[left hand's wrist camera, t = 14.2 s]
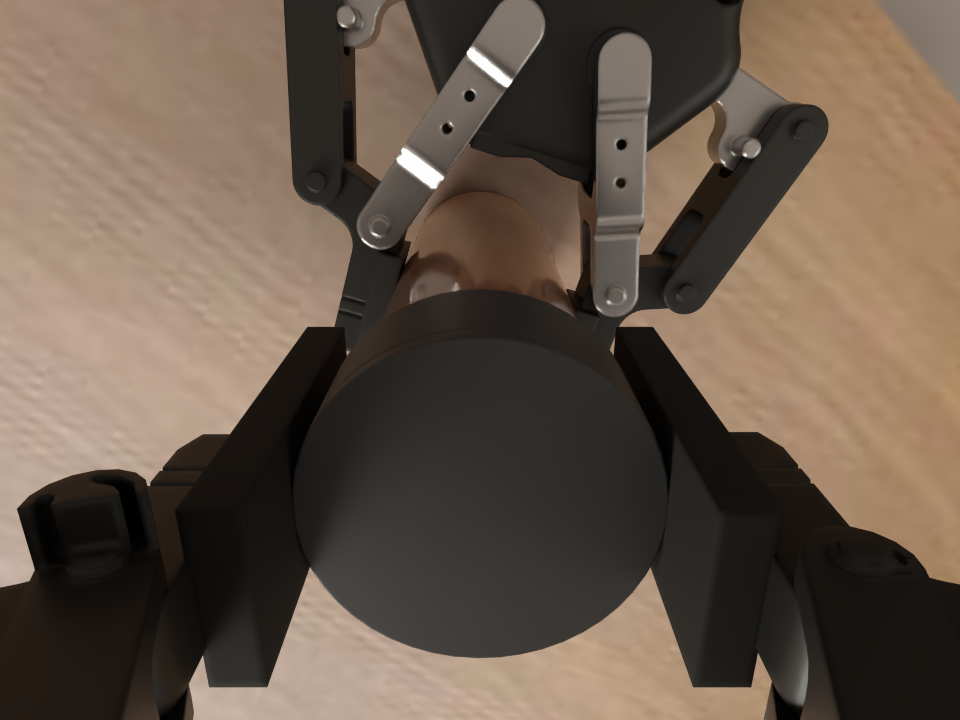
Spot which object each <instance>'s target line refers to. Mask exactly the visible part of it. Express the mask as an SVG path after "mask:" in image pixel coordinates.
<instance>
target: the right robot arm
mask: <svg viewBox="0 0 960 720" xmlns="http://www.w3.org/2000/svg"><path fill="white" fill-rule="evenodd" d="M401 1H405V2H406V5H407V8H408V11H409V14H410V16H411V19H412V22H413V25H414V28H415V31H416V34H417V37H418V39H419V42H420V45H421V48H422V51H423V54H424V57H425V60H426V62H427V65H428V68H429V71H430V74H431V77H432V80H433V83H434V85H435V88H436V91H437V94H438V96H437V98H436V99H435V101H434V102H433V104H432V105H431V107H430V108H429V110H428V111H427V113H426V114H425V116H424V117H423V119H422V120H421V122H420V123H419V125H418V126H417V128H416V129H415V131H414V132H413V134H412V135H411V136H410V138H409V139H408V141H407V142H406V144H405V145H404V147H403V149H402V150H401V152H400V153H399V155H398V157H397V159H396V160H395V162H394V163H393V165H392V166H391V168H390V169H389V171H388V172H387V174H386V175H385V177H384V178H383V180H382V181H379V180H378V179H377V178H375V177H374V176H372V175H371V174H370V173H368V172H367V171H366V170H364V169H363V168H362V167H360V166H359V165H358V164H357V152H356V89H355V49H362V48H366V47H368V46H370V45H372V44H373V43H374V42H375V41H376V39H377V38H378V36H379V33H380V30H381V22H382V18H383V16H384V14H385V12H386V11H387V9H388V8H389V7H390V6H392V5H393V4H395V3H397V2H401ZM743 1H744V0H284V14H285V34H286V54H287V74H288V94H289V114H290V134H291V154H292V175H293V185H294V188H295V190H296V192H297V194H298V195H299V196H300V197H301V198H302V199H303V200H304V201H306V202H307V203H309V204H313V205H320V206H321V207H323V208H324V209H326V210H327V211H328V212H330V213H331V214H333V215H334V216H336V217H337V218H338V219H340V220H341V221H342V222H343V223H344V224H345V225H346V226H347V228H348V229H349V231H350V233H351V236H352V241H353V249H352V255H351V259H350V263H349V267H348V272H347V276H346V280H345V285H344V289H343V293H342V298H341V302H340V306H339V311H338V315H337V319H336V323H335V327H344V328H345V341H346V350H347V351H351V350H352V348H353V347H354V346H355V345H356V344H357V343H358V342H359V340H360V339H361V338H362V337H363V336H364V335H365V334H366V333H367V332H368V331H369V330H371V329H372V328H373V327H374V326H375V325H377V324H378V323H379V322H380V321H381V320H382V319H383V316H384V314H385V311H386V309H387V307H388V304H389V302H390V300H391V297H392V295H393V293H394V290H395V288H396V286H397V283H398V281H399V279H400V276H401V274H402V271H403V269H404V267H405V263H406V259H407V256H408V252H409V248H410V244H411V242H408V241H405V236H406V232H407V229H408V227H409V226H410V225H411V223H412V222H413V220H414V219H415V217H416V216H417V215H418V213H419V212H420V210H421V209H422V207H423V206H424V205H425V203H426V202H427V200H428V199H429V198H430V196H431V195H432V193H433V192H434V191H435V189H436V188H437V186H438V185H439V184H440V183H441V181H442V180H443V179H444V177H445V176H446V174H447V173H448V172H449V170H450V169H451V167H452V166H453V165H454V163H455V162H456V160H457V159H458V158H459V156H460V155H461V153H462V152H463V150H464V149H465V148H466V146H467V145H468V143H469V144H471V146H470V148H473V149H476V150H480V151H483V152H486V153H489V154H492V155H496V156H499V157H526V158H533V159H535V160H536V161H538V162H539V163H541V164H543V165H544V166H546V167H547V168H549V169H550V170H552V171H553V172H555V173H556V174H558V175H560V176H563V177H566V178H569V179H573V180H576V181H578V206H579V214H580V227H581V277H580V280H579V282H578V285H577V288H576V291H573V290H570V289H567V290H566V291H567V293H568V296H569V298H570V301H571V303H572V305H573V308H574V310H575V312H576V315H577V317H578V319H579V321H580V322H582V323H583V324H585V325H586V326H587V327H588V328H589V329H590V330H591V331H592V332H593V333H594V334H596V335H597V336H598V337H599V338H600V339H601V341H602V342H603V343H604V344H605V345H606V347H607V348H608V349H609V350H610V348H611V345H612V343H613V340H614V337H615V333H616V327H619V326H620V324H621V323H622V321H623V320H624V319H625V318H626V317H627V316H629V315H630V314H632V313H634V312H636V311H640V310H647V309H664V308H669V309H670V310H672V311H673V312H675V313H679V314H689V313H693V312H695V311H697V310H698V309H700V308H701V307H702V306H703V305H704V303H705V302H706V301H707V299H708V298H709V297H710V295H711V294H712V293H713V291H714V290H715V289H716V287H717V286H718V285H719V283H720V282H721V280H722V279H723V278H724V276H725V275H726V274H727V272H728V271H729V270H730V268H731V267H732V266H733V264H734V263H735V261H736V260H737V259H738V257H739V256H740V255H741V253H742V252H743V251H744V249H745V248H746V247H747V245H748V244H749V242H750V241H751V240H752V238H753V237H754V236H755V234H756V233H757V232H758V230H759V229H760V228H761V226H762V225H763V223H764V222H765V221H766V219H767V218H768V217H769V215H770V214H771V213H772V211H773V210H774V209H775V207H776V206H777V204H778V203H779V202H780V200H781V199H782V198H783V196H784V195H785V194H786V192H787V191H788V190H789V188H790V187H791V185H792V184H793V183H794V181H795V180H796V179H797V177H798V176H799V175H800V173H801V172H802V171H803V169H804V168H805V166H806V165H807V164H808V162H809V161H810V160H811V158H812V157H813V156H814V154H815V153H816V152H817V150H818V149H819V147H820V146H821V145H822V143H823V142H824V140H825V138H826V136H827V133H828V119H827V117H826V115H825V113H824V112H823V111H822V110H821V109H820V108H819V107H817V106H814V105H807V104H801V103H792V102H789V101H787V100H785V99H784V98H783V97H781V96H780V95H778V94H777V93H775V92H774V91H773V90H771V89H770V88H768V87H767V86H765V85H764V84H762V83H761V82H760V81H758V80H757V79H755V78H754V77H752V76H751V75H749V74H748V73H747V72H745V71H744V70H742V69H741V68H739V64H740V58H741V46H740V36H739V24H740V15H741V9H742V4H743ZM710 105H711V107H712V108H713V111H714V114H715V124H714V128H713V131H712V133H711V135H710V137H709V140H708V144H707V149H708V154H709V156H710V158H711V160H712V161H713V162H714V164H713V166H712V167H711V169H710V170H709V172H708V173H707V175H706V176H705V178H704V179H703V180H702V182H701V183H700V185H699V186H698V188H697V189H696V191H695V192H694V194H693V195H692V196H691V198H690V199H689V201H688V202H687V204H686V205H685V207H684V208H683V209H682V211H681V212H680V214H679V215H678V217H677V218H676V220H675V221H674V223H673V224H672V225H671V227H670V228H669V230H668V231H667V233H666V234H665V236H664V237H663V239H662V240H661V241H660V243H659V244H658V246H657V247H656V249H655V250H654V252H653V253H652V254H651V255H639V243H640V232H641V230H642V228H643V225H644V218H645V189H646V154H647V152H648V151H649V150H651V149H652V148H654V147H655V146H656V145H658V144H659V143H660V142H662V141H663V140H664V139H666V138H667V137H668V136H670V135H671V134H672V133H674V132H675V131H676V130H678V129H679V128H680V127H682V126H683V125H684V124H686V123H687V122H688V121H690V120H691V119H692V118H694V117H695V116H696V115H698V114H699V113H700V112H702V111H703V110H704V109H706V108H707V107H708V106H710ZM448 123H449V124H450V125H451V126H449V124H448Z"/></svg>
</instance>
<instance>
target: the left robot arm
mask: <svg viewBox="0 0 960 720" xmlns="http://www.w3.org/2000/svg"><path fill="white" fill-rule="evenodd" d="M346 357H347V354H346V341H345V328H344V327H307V328H306V330H305V331H304V333H303V334H302V335H301V337H300V338H299V340H298V341H297V342H296V344H295V345H294V346H293V348H292V349H291V351H290V352H289V353H288V355H287V356H286V358H285V359H284V360H283V362H282V363H281V364H280V366H279V367H278V369H277V370H276V371H275V373H274V374H273V376H272V377H271V378H270V380H269V381H268V382H267V384H266V385H265V387H264V388H263V389H262V391H261V392H260V394H259V395H258V396H257V398H256V399H255V400H254V402H253V403H252V405H251V406H250V407H249V409H248V410H247V412H246V413H245V414H244V416H243V417H242V418H241V420H240V421H239V423H238V424H237V425H236V427H235V428H234V430H233V431H232V432H231V434H203V435H201V436H199V437H198V438H196V439H194V440H193V441H191V442H190V443H188V444H186V445H185V446H183V447H181V448H180V449H178V450H177V451H176V452H175V454H174V455H173V456H172V457H171V458H170V460H169V461H168V462H167V463H166V464H165V466H164V467H163V471H159V473H158V474H157V475H156V476H155V477H154V479H153V480H152V481H151V482H150V483H151V484H150V486H147V483H146V480H145V479H144V478H142V477H141V476H140V475H138V474H137V473H135V472H130V471H125V470H120V469H114V470H95V471H91V472H86V473H81V474H76V475H72V476H69V477H67V478H64V479H61V480H59V481H56V482H53V483H51V484H48V485H47V486H45V487H43V488H42V489H40V490H38V491H37V492H35V493H33V494H32V495H30V496H29V497H28V498H27V499H26V500H25V501H24V502H23V503H22V504H21V505H20V506H19V507H18V508H17V511H18V514H19V517H20V521H21V524H22V527H23V531H24V534H25V538H26V541H27V544H28V548H29V551H30V554H31V558H32V561H33V564H34V568H35V571H34V573H33V575H32V577H31V579H30V581H28V582H24V583H21V584H16V585H11V586H6V587H1V588H0V720H193V715H194V710H193V704H192V697H191V693H190V688H189V682H190V680H191V678H192V676H193V674H194V672H195V670H196V668H197V666H198V664H199V662H200V660H201V658H202V656H203V658H204V663H205V668H206V673H207V678H208V683H209V687H267V686H268V683H269V681H270V678H271V675H272V672H273V669H274V667H275V664H276V661H277V658H278V655H279V653H280V650H281V647H282V644H283V641H284V638H285V636H286V633H287V630H288V627H289V624H290V622H291V619H292V616H293V613H294V610H295V607H296V605H297V602H298V599H299V596H300V593H301V591H302V588H303V585H304V582H305V579H306V577H307V574H308V571H309V568H310V565H309V563H308V561H307V559H306V557H305V555H304V553H303V551H302V548H301V545H300V542H299V539H298V536H297V533H296V529H295V521H294V513H293V504H292V482H293V475H294V468H295V464H296V461H297V458H298V454H299V451H300V448H301V445H302V443H303V441H304V439H305V437H306V435H307V433H308V430H309V428H310V426H311V424H312V422H313V420H314V418H315V416H316V414H317V412H318V410H319V408H320V406H321V404H322V402H323V400H324V398H325V396H326V394H327V392H328V390H329V388H330V386H331V384H332V382H333V380H334V378H335V376H336V374H337V372H338V370H339V368H340V366H341V364H342V363H343V362H344V360H345V359H346ZM614 357H615V359H616V361H617V362H618V364H619V366H620V367H621V369H622V371H623V373H624V374H625V376H626V378H627V380H628V382H629V384H630V386H631V388H632V390H633V392H634V394H635V396H636V398H637V400H638V402H639V404H640V406H641V408H642V410H643V412H644V414H645V416H646V418H647V420H648V422H649V424H650V426H651V428H652V430H653V432H654V434H655V437H656V439H657V441H658V444H659V446H660V449H661V451H662V454H663V458H664V462H665V466H666V470H667V474H668V485H669V499H668V508H667V517H666V525H665V531H664V536H663V539H662V542H661V544H660V547H659V550H658V552H657V555H656V557H655V559H654V561H653V563H652V565H651V566H650V567H651V570H652V573H653V575H654V578H655V581H656V584H657V587H658V589H659V592H660V595H661V598H662V601H663V604H664V606H665V609H666V612H667V615H668V618H669V620H670V623H671V626H672V629H673V632H674V634H675V637H676V640H677V643H678V646H679V649H680V651H681V654H682V657H683V660H684V663H685V665H686V668H687V671H688V674H689V677H690V680H691V682H692V685H693V687H751V685H752V680H753V675H754V670H755V665H756V660H757V655H758V653H759V655H760V657H761V659H762V661H763V663H764V666H765V668H766V670H767V672H768V674H769V676H770V678H771V680H772V683H771V688H770V693H769V697H768V702H767V707H766V712H765V716H764V720H960V585H959V584H954V583H949V582H944V581H940V580H936V579H932V578H929V576H928V574H927V572H926V570H925V568H924V567H923V566H922V564H921V563H920V562H919V561H918V559H917V558H916V557H915V556H914V555H913V554H912V553H911V552H909V551H908V550H906V549H905V548H903V547H902V546H901V545H899V544H898V543H896V542H894V541H892V540H890V539H888V538H885V537H883V536H881V535H879V534H876V533H874V532H871V531H866V530H862V529H858V528H854V527H850V526H849V525H848V524H847V523H846V521H845V520H844V519H843V518H842V517H841V515H840V514H839V513H838V512H837V511H836V510H835V508H834V507H833V506H832V505H831V504H830V502H829V501H828V500H827V499H826V498H825V496H824V495H823V494H822V493H821V492H820V491H819V489H818V488H817V487H816V486H815V485H814V484H811V482H810V479H809V477H808V476H807V475H806V474H805V473H804V472H803V470H802V469H798V464H797V463H796V462H795V461H794V460H793V459H792V457H791V456H790V455H789V454H788V453H787V451H786V450H785V449H784V448H783V447H782V446H780V445H778V444H777V443H775V442H773V441H772V440H770V439H768V438H767V437H765V436H763V435H762V434H760V433H758V432H728V430H727V429H726V428H725V426H724V425H723V423H722V422H721V421H720V419H719V418H718V416H717V415H716V414H715V412H714V411H713V410H712V408H711V407H710V405H709V404H708V403H707V401H706V400H705V398H704V397H703V396H702V394H701V393H700V392H699V390H698V389H697V387H696V386H695V385H694V383H693V382H692V380H691V379H690V378H689V376H688V375H687V374H686V372H685V371H684V369H683V368H682V367H681V365H680V364H679V362H678V361H677V360H676V358H675V357H674V356H673V354H672V353H671V351H670V350H669V349H668V347H667V346H666V344H665V343H664V342H663V340H662V339H661V338H660V336H659V335H658V333H657V332H656V331H655V329H654V328H653V327H616V333H615V346H614Z"/></svg>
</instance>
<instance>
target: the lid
mask: <svg viewBox="0 0 960 720" xmlns="http://www.w3.org/2000/svg"><path fill="white" fill-rule="evenodd" d="M668 499H669V485H668V474H667V470H666V466H665V462H664V458H663V454H662V451H661V449H660V446H659V444H658V441H657V439H656V437H655V434H654V432H653V430H652V428H651V426H650V424H649V422H648V420H647V418H646V416H645V414H644V412H643V410H642V408H641V406H640V404H639V402H638V400H637V398H636V396H635V394H634V392H633V390H632V388H631V386H630V384H629V382H628V380H627V378H626V376H625V374H624V373H623V371H622V369H621V367H620V366H619V364H618V362H617V361H616V359H615V357H614V356H613V354H612V353H611V351H610V350H609V349H608V348H607V347H606V345H605V344H604V343H603V342H602V341H601V339H600V338H599V337H598V336H597V335H596V334H594V333H593V332H592V331H591V330H590V329H589V328H588V327H587V326H586V325H585V324H583V323H582V322H580V321H579V320H577V319H576V318H575V317H573V316H572V315H570V314H569V313H567V312H565V311H563V310H562V309H560V308H558V307H556V306H554V305H552V304H550V303H548V302H545V301H542V300H539V299H536V298H534V297H531V296H528V295H523V294H519V293H514V292H509V291H502V290H491V289H471V290H458V291H452V292H447V293H441V294H437V295H434V296H431V297H427V298H424V299H421V300H418V301H416V302H414V303H412V304H409V305H407V306H405V307H403V308H401V309H399V310H397V311H396V312H394V313H392V314H391V315H389V316H388V317H386V318H384V319H383V320H381V321H380V322H379V323H378V324H377V325H375V326H374V327H373V328H372V329H371V330H369V331H368V332H367V333H366V334H365V335H364V336H363V337H362V338H361V339H360V340H359V342H358V343H357V344H356V345H355V346H354V347H353V348H352V350H351V351H350V353H349V354H348V356H347V357H346V359H345V360H344V362H343V363H342V364H341V366H340V368H339V370H338V372H337V374H336V376H335V378H334V380H333V382H332V384H331V386H330V388H329V390H328V392H327V394H326V396H325V398H324V400H323V402H322V404H321V406H320V408H319V410H318V412H317V414H316V416H315V418H314V420H313V422H312V424H311V426H310V428H309V430H308V433H307V435H306V437H305V439H304V441H303V443H302V445H301V448H300V451H299V454H298V458H297V461H296V464H295V468H294V475H293V482H292V504H293V513H294V521H295V529H296V533H297V536H298V539H299V542H300V545H301V548H302V551H303V553H304V555H305V557H306V559H307V561H308V563H309V565H310V567H311V569H312V571H313V572H314V574H315V575H316V576H317V578H318V579H319V581H320V582H321V584H322V585H323V587H324V588H325V589H326V590H327V591H328V592H329V593H330V595H331V596H332V597H333V598H334V599H335V600H336V601H337V602H338V603H339V604H340V605H341V606H342V607H343V608H345V609H346V610H347V611H348V612H349V613H350V614H351V615H353V616H354V617H355V618H357V619H358V620H360V621H361V622H362V623H364V624H365V625H367V626H368V627H370V628H371V629H373V630H375V631H377V632H379V633H381V634H383V635H385V636H386V637H388V638H390V639H393V640H395V641H398V642H400V643H403V644H405V645H408V646H410V647H413V648H417V649H421V650H424V651H428V652H431V653H437V654H443V655H448V656H454V657H469V658H492V657H505V656H512V655H519V654H524V653H528V652H533V651H537V650H541V649H544V648H547V647H550V646H553V645H555V644H558V643H561V642H564V641H566V640H568V639H570V638H572V637H574V636H576V635H578V634H580V633H583V632H584V631H586V630H587V629H589V628H591V627H592V626H594V625H595V624H597V623H599V622H600V621H602V620H603V619H604V618H605V617H607V616H608V615H609V614H610V613H612V612H613V611H614V610H615V609H617V608H618V607H619V606H620V605H621V604H622V603H623V602H624V601H625V600H626V599H627V598H628V597H629V596H630V595H631V594H632V593H633V591H634V590H635V589H636V587H637V586H638V585H639V583H640V582H641V581H642V579H643V578H644V577H645V575H646V573H647V572H648V570H649V568H650V566H651V565H652V563H653V561H654V559H655V557H656V555H657V552H658V550H659V547H660V544H661V542H662V539H663V536H664V531H665V525H666V517H667V508H668Z"/></svg>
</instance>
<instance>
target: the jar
mask: <svg viewBox="0 0 960 720" xmlns="http://www.w3.org/2000/svg"><path fill="white" fill-rule="evenodd" d="M471 289H491V290H502V291H509V292H514V293H519V294H523V295H528V296H531V297H534V298H536V299H539V300H542V301H545V302H548V303H550V304H552V305H554V306H556V307H558V308H560V309H562V310H563V311H565V312H567V313H569V314H570V315H572V316H573V317H575V318H576V319H577V320H579V319H578V317H577V315H576V312H575V310H574V308H573V305H572V303H571V301H570V298H569V296H568V293H567V291H566V289H565V286H564V284H563V282H562V279H561V277H560V275H559V272H558V270H557V268H556V265H555V263H554V261H553V258H552V256H551V254H550V251H549V249H548V247H547V244H546V242H545V240H544V237H543V235H542V232H541V230H540V228H539V226H538V224H537V223H536V221H535V220H534V218H533V217H532V216H531V215H530V213H529V212H528V211H527V210H526V209H525V208H524V207H522V206H521V205H520V204H518V203H517V202H515V201H514V200H512V199H510V198H508V197H506V196H503V195H500V194H497V193H492V192H483V191H477V192H468V193H464V194H460V195H457V196H455V197H452V198H450V199H449V200H447V201H445V202H443V203H442V204H441V205H439V206H438V207H437V208H436V209H435V210H434V211H433V212H432V213H431V214H430V215H429V216H428V217H427V219H426V220H425V222H424V224H423V225H422V227H421V229H420V231H419V234H418V236H417V238H416V241H415V243H414V245H413V248H412V250H411V253H410V255H409V257H408V260H407V262H406V264H405V267H404V269H403V271H402V274H401V276H400V279H399V281H398V283H397V286H396V288H395V290H394V293H393V295H392V297H391V300H390V302H389V304H388V307H387V309H386V311H385V314H384V316H383V319H384V318H386V317H388V316H389V315H391V314H392V313H394V312H396V311H397V310H399V309H401V308H403V307H405V306H407V305H409V304H412V303H414V302H416V301H418V300H421V299H424V298H427V297H431V296H434V295H437V294H441V293H447V292H452V291H458V290H471ZM383 319H382V320H383Z"/></svg>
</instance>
